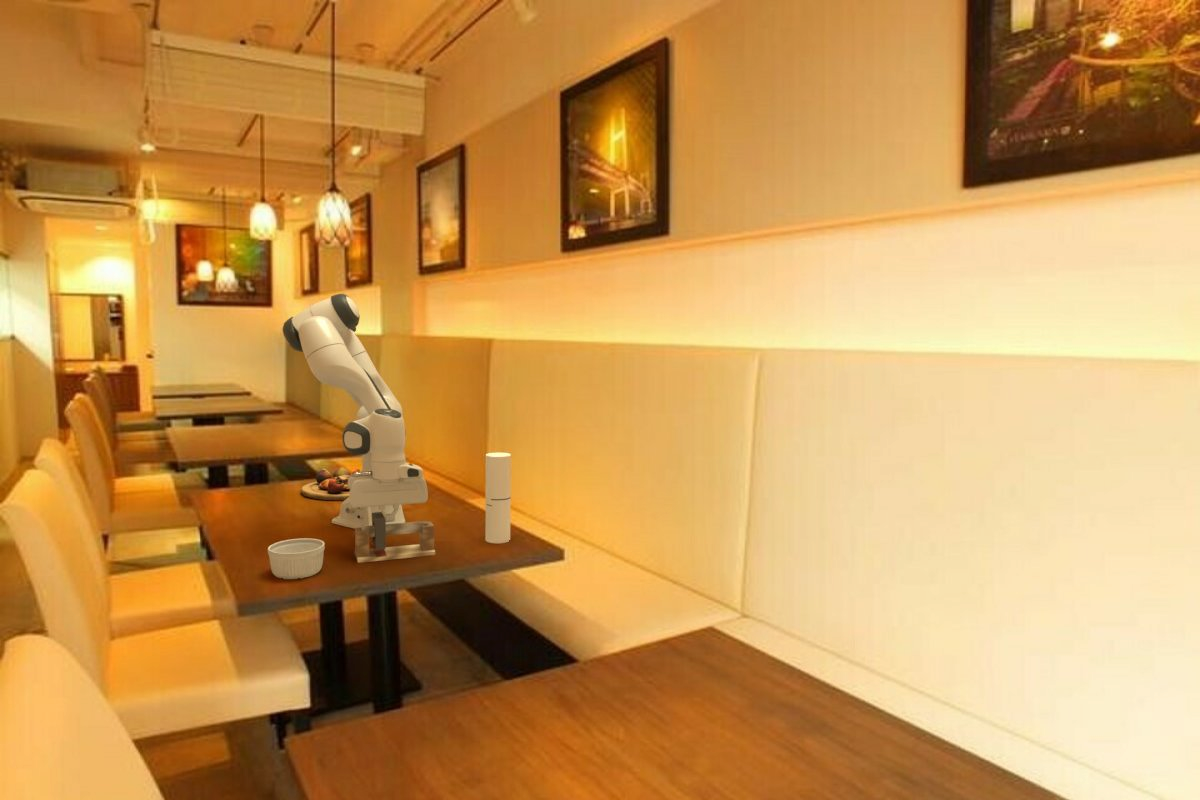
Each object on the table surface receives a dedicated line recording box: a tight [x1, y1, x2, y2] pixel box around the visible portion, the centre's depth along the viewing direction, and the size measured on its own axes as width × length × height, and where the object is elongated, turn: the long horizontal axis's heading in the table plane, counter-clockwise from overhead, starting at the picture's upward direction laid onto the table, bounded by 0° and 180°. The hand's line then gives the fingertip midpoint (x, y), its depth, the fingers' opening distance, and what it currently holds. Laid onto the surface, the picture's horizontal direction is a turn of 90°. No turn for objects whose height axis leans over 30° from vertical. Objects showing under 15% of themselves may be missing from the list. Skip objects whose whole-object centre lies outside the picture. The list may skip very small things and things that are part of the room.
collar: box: [371, 512, 387, 550], centre depth 203 cm, size 2×8×8 cm, turn 23°
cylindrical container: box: [484, 452, 512, 544], centre depth 220 cm, size 7×7×25 cm
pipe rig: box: [354, 520, 436, 564], centre depth 205 cm, size 20×8×8 cm, turn 113°
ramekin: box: [267, 537, 326, 580], centre depth 190 cm, size 13×13×7 cm
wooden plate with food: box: [300, 466, 362, 501], centre depth 279 cm, size 32×32×8 cm
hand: (389, 521), depth 204 cm, fingers closed
